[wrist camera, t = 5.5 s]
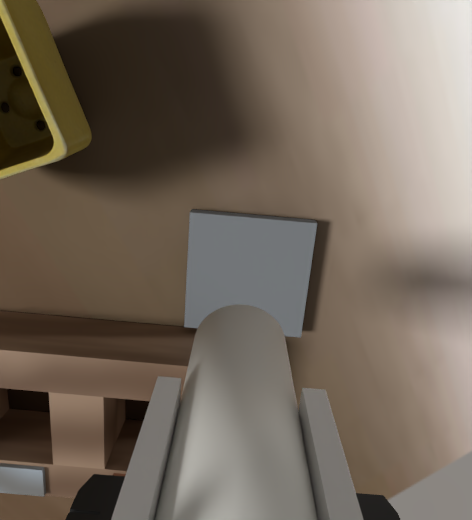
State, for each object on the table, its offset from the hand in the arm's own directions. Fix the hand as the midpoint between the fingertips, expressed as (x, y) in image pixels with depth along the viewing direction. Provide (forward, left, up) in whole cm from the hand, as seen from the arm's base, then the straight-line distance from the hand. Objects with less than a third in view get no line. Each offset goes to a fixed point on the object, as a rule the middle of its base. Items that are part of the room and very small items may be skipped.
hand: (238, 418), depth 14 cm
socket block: (+10, -10, -15) cm, 21 cm away
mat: (0, 0, -15) cm, 15 cm away
